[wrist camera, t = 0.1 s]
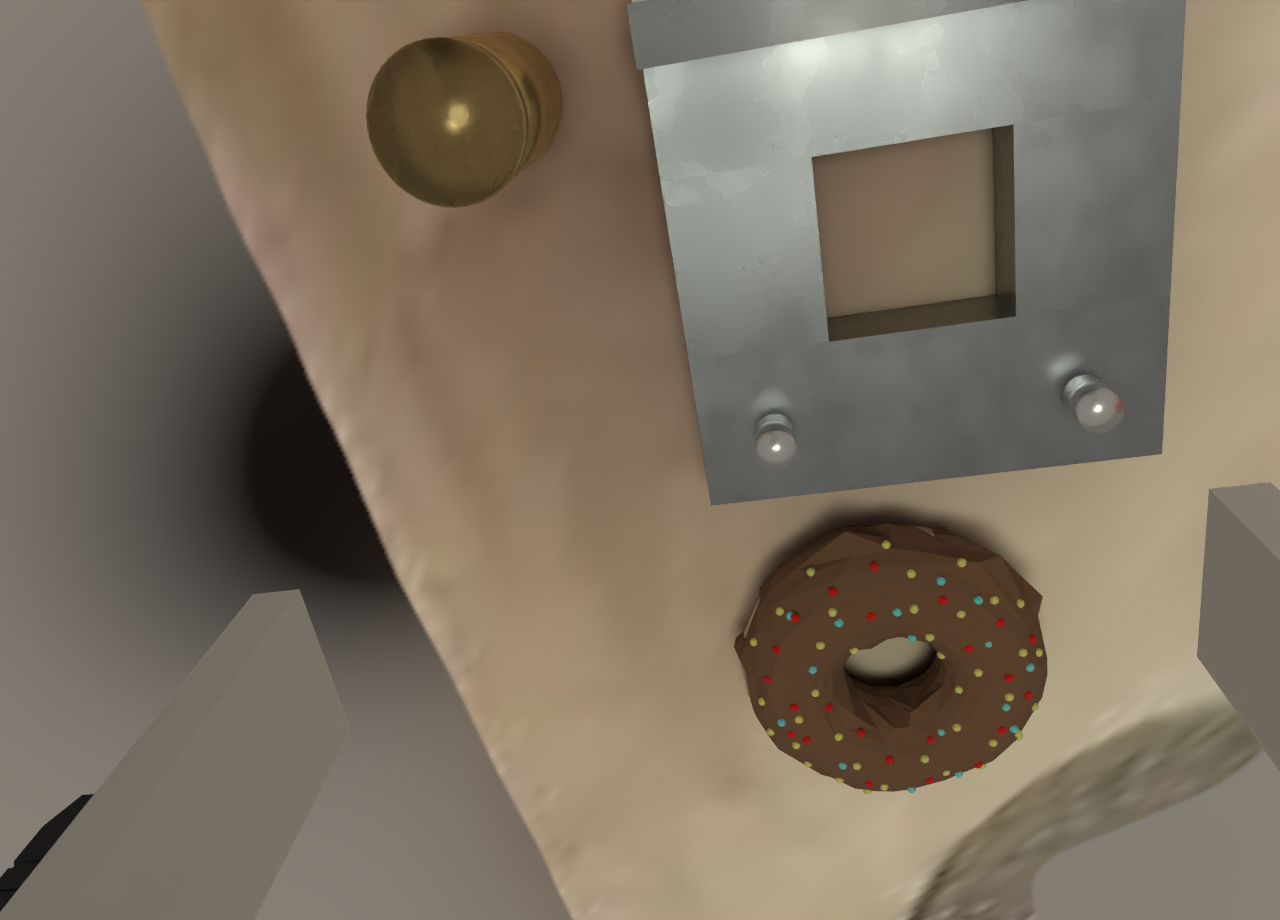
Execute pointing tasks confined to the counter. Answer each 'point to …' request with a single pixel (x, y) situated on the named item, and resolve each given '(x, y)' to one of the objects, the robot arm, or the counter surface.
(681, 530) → the counter surface
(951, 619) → the donut
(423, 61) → the amber grooved cylinder
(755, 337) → the jig
